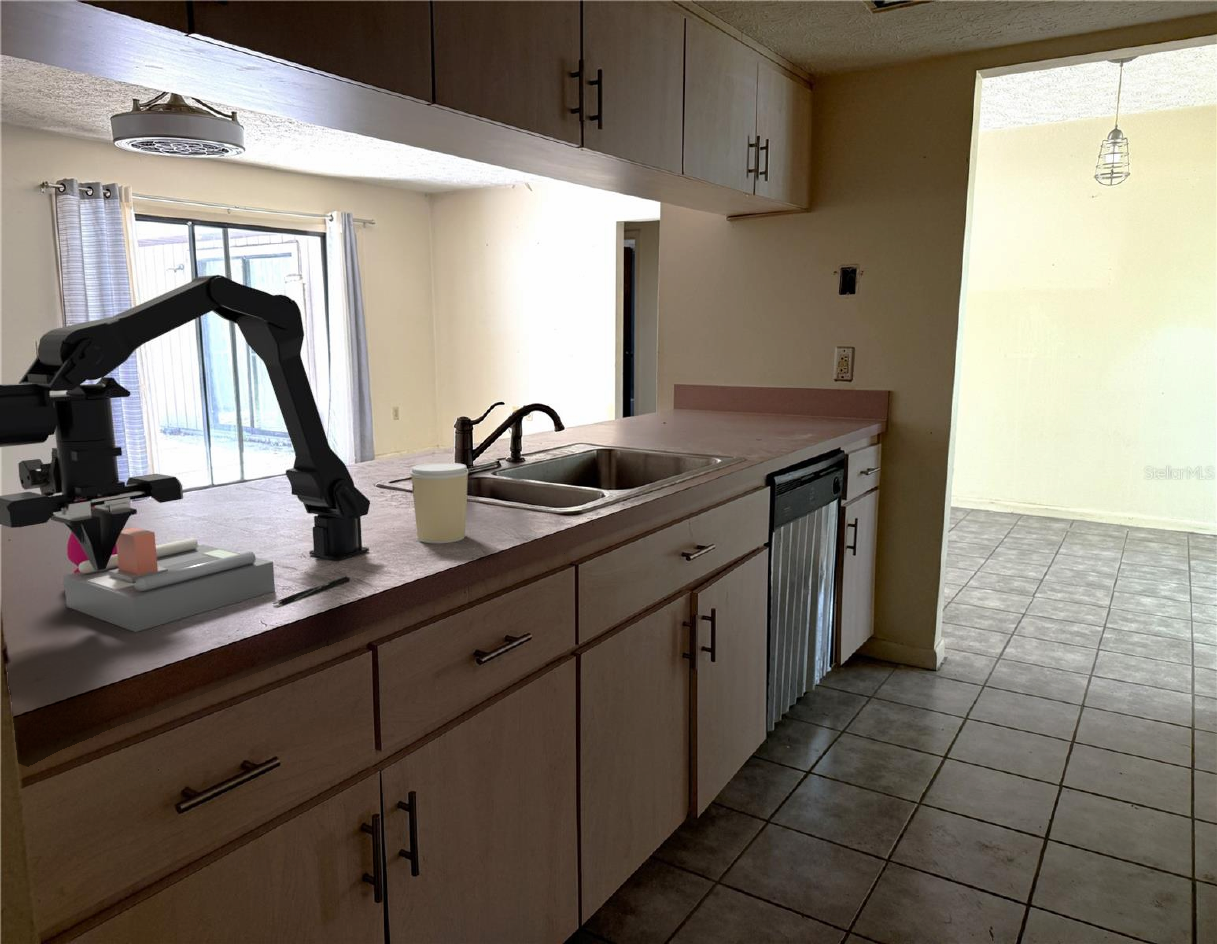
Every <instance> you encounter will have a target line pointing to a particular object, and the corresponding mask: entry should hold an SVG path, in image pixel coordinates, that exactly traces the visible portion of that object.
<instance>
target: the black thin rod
mask: <svg viewBox="0 0 1217 944" xmlns="http://www.w3.org/2000/svg"><path fill="white" fill-rule="evenodd" d="M350 580H351V577H348V576H343V577H341V578H338V579H335V580H332V581H330V582H327V583H324V584H322V585H319V586H316V587H312V588H309V589H306V590H303V591H300V592H297V593H293V594H292V595H290V596H286V597H283V598H281V599H277V601H274V602H272V604H273V607H274V608H275V607H276V608H279V607H281V606H285V605H288V604H290V603H292V602H295V601H297V600H301V599H303V598H307V597H309V596H313V595H316V594H319V593H322V592H325V591H327V590H330V589H332V588H335V587H337V586H339V585H343V584H345V583H349V582H350Z"/></svg>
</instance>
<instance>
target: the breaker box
mask: <svg viewBox="0 0 1217 944" xmlns="http://www.w3.org/2000/svg"><path fill="white" fill-rule="evenodd" d="M156 555H157V566H159V567H163V568H166V569H168V572H164V573H160V574H155V575H151V576H147V577H143V578H140V579H138V580H136V582H132V583H131V582H128V581H125V580H122V579H119V578H115V577H112V576H109V571H110V570H115V569H119V566H118V556H117V554H116V555H111V557H110V559H109V562H108V564H107V567H106V569H105V570H101V571H96V570H94V568H93V567H92V565H91V563H90V561H89V560H87V561H83V562H82V563H80V565H79V571H80V572H77V573H74V572H73V573H69V574H65V575H63V584H64V593H65V594H64V595H65V602H66V607H67V608H70V609H72V610H75V611H77V612H80V613H83V614H86V615H88V616H91V617H94V618H96V619H99V620H102V621H105V622H108V623H110V624H113V625H115V626H117V627H118V626H119V627H121V628H123V629H126V630H128V631H131V632H135V633H137V632H141V631H145V630H147V629H151V628H154V627H158V626H160V625H164V624H167V623H168V624H169V623H171V622H174V621H179V620H181V619H184V618H189V617H191V616H195V615H197V614H202V613H204V612H209V611H211V610H216V609H219V608H222V607H225V606H229V605H232V604H235V603H238V602H239V603H240V602H242V601H246V600H248V599H252V598H256V597H259V596H262V595H266V594H269V593H273V592H275V591H276V588H275V570H274V561H273V560H267V559H263V558H259V557H256V555H255V553H254V552H253V551H247V552H242V553H239V552H235V551H230V550H226V549H223V548H218V547H214V546H209V545H206V544H199V542H198V540H197V539H196V538H195V537H191V538H187V539H181V540H177V541H173V542H172V541H171V542H167V543H164V544H159V545H156Z"/></svg>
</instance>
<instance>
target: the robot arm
mask: <svg viewBox="0 0 1217 944" xmlns="http://www.w3.org/2000/svg"><path fill="white" fill-rule="evenodd" d="M210 312H213V313H215V314H216V315H217V316H218V317H220V318H222V319H223V320H226V321H228V322H231V323H233V324H235V325H237V326H238V329H239V330H240V332H241V334H242V336H243V338H244V340H245V341H246V344H247V345H248V346H249V348H250V349H252V350H253V352H254V353H255V354H256V355H257V357H259V359H261V361H262V362H263V364H264V365H265V366H264V367H265V368H266V371H267V374H268V376H269V380H270V383H271V386H272V389H273V393H274V395H275V399H276V401H277V403H278V407H279V410H280V413H281V416H282V419H283V421H284V425H285V427H286V430H287V433H288V436H289V440H290V442H291V445H292V448H293V451H294V455H295V456H294V457H295V459H294V462H293V467H291V468H289V469H286V470H285V476H286V477H287V480H288V481H289V484H290V488H291V495H292V496H296V497H297V499H298V500H299V501H300V503H303V506H304V508H305V511H306V513H307V514H309V515H311V514H312V515H314V516H313V523H314V526H312V542H313V543H312V544H313V549H312V550H309V555H312V556H316V557H321V558H323V559H328V560H329V559H330V560H334V561H337V560H338V561H339V560H341V559H346V558H349V557H352V556H357V555H360V554H364V553H367V552H370V548H369V547H366V546H363V543H362V542H363V541H362V523H361V522H362V521H361V517H364V516H367V515H369V514H368V513H369V509H370V505H371V500H369V498H368V497H367V496H365V495H364V494H363V493H362V492H361V491H360V490H359V489H358V488H357V487H356V486H355V483H354V480H353V477H352V475H351V473H350V472H349V469H348V468H347V465H346V463H344V461H343V460H342V459H341V458H340V457H339V456H338V454H336V453H335V451H334V450H333V448H331V446H330V444H329V441H328V438H327V435H326V431H325V429H324V428H325V427H324V425H323V421H322V419H321V416H320V413H319V409H318V407H317V403H316V400H315V397H314V394H313V391H312V387H311V384H310V381H309V377H308V375H307V372H306V369H305V365H304V363H303V359H302V355H301V353H302V347H303V344H304V338H305V331H304V325H303V318H302V313H301V309H300V307H299V305H298V303H297V302H296V301H295V299H292V298H291V297H289V296H288V295H285V294H271V293H268V292H266V291H264V290H260V289H257V288H254V287H251V286H249V285H248V286H247V285H244V284H241V283H239V282H236V281H234V280H232V279H230V278H228V277H226V276H224V275H220V274H212V275H200V276H196V277H194V278H193V279H192V280H191V281H190V282H187V283H185V284H183V285H181V286H179V287H177V288H174V289H171V290H170V291H167V292H165V293H163V294H160V295H158V296H156V297H154V298H152V299H150V300H147V301H145V302H142V303H140V304H138V305H136V306H134V307H131V308H129V309H127V310H125V311H122V312H120V313H118V314H115V315H113V316H109V317H105V318H98V319H94V320H91V321H84V322H80V323H75V324H71V325H67V326H61V327H58V328H54V329H51V330H49V331H48V332H46V333H44V334H43V335H42V336H41V337H40V339H39V342H38V343H39V344H38V347H37V356H36V358H35V359H34V361H32V364H30V366H29V368H28V369H27V371H26V372H25V373H24V374H23V376H22V378H21V379H20V381H19V382H18V383H7V384H6V383H3V384H1V383H0V448H6V447H15V446H16V447H17V446H25V445H27V446H29V445H36V444H43V443H45V442H46V441H47V440H48V438H49V436H54V435H55V444H56V447H52V448H51V462H48V463H43V462H42V460H41V459H40V458H36V459H35V458H33V459H26V460H25V459H24V460H21V461H20V462H18V464H17V466H18V478H19V482H20V485H21V487H22V489H23V490H24V491H25V490H33V489H39V490H40V493H36V492H32V491H25V492H18V493H11V494H4V495H0V526H4V527H7V528H10V529H11V528H12V529H13V528H23V527H28V526H30V527H31V526H35V525H40V524H47V523H48V522H49V520H51V521H53V522H58V523H60V524H64V525H65V526H66V527H67V529H69V531H71V532H72V533H73V534H74V535H75V537H76V538H77V540H78V541H79V543H80V545H81V547H82V549H83V550H84V552H85V554H86V556H87V558H88V559H89V561H90V563H91V565H92V567H93V568H94V570H96V571H101V570H105V569H106V567H107V564H108V562H109V559H110V557H111V554H112V552H113V549H114V547H115V544H116V542H117V540H118V537H119V535H120V533H121V532H122V530H124V527H125V526H126V524H127V522H128V521H129V519H130V517H131V516H134V515H137V514H138V509H136V508H132V507H131V501H132V500H136V499H144V498H150V497H151V498H152V499H153V500H154V501H156V502H157V503H160V504H162V503H169V502H174V501H179V500H182V499H184V492H183V491H184V490H183V485H182V482H181V481H180V479H178V478H177V477H176V476H174V475H173V476H171V475H168V474H167V475H166V474H161V473H151V474H150V473H149V474H143V475H136V476H129V477H128V479H127V481H126V482H125V481H123V480H120V477H119V468H118V466H119V465H118V458H117V457H121V456H123V451H122V447H121V446H119V445H118V446H117V445H116V437H115V427H114V419H113V417H114V416H113V410H112V400H111V399H117V398H129V397H130V396H131V391H130V390H129V389H126V388H125V387H124V386H122V385H121V384H119V383H118V382H117V380H116V379H115V378H114V377H112V376H111V377H109V376H107V375H109V374H110V373H112V372H113V371H114V370H116V369H117V368H119V367H120V366H121V365H122V364H124V363H125V362H126V361H128V360H129V358H130V357H131V356H132V354H134V352H135V351H136V350H137V349H139V348H140V347H141V346H142V345H144V344H146V343H148V342H150V341H153V340H155V339H156V338H159V337H160V336H163V335H164V334H166V333H167V334H168V333H169V332H171V331H174V330H175V329H177V328H180V327H181V326H183V325H185V324H187V323H189V322H192V321H194V320H196V319H197V318H200V317H203V316H204V315H206V314H208V313H210ZM99 379H100V380H99ZM96 380H98V381H97V383H90V384H89V383H88V384H84V383H85V382H86V381H96ZM50 392H65V393H63V394H51V393H50ZM55 494H56V495H55ZM81 499H82V500H81ZM84 499H85V500H84ZM77 500H80V501H77ZM91 506H95V507H93V508H91Z"/></svg>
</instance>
